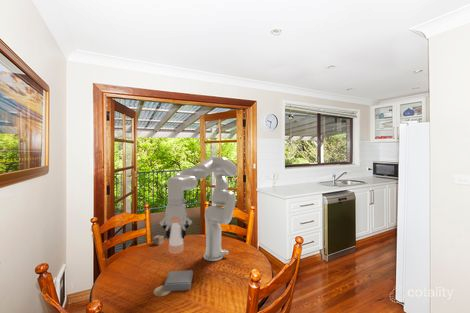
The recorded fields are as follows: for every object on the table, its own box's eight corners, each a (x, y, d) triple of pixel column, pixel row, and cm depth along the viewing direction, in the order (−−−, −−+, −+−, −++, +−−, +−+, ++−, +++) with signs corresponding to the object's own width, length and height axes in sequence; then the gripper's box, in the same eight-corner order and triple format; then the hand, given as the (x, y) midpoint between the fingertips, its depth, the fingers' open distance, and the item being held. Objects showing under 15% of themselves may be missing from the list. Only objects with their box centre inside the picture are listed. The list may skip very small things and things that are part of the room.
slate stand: (192, 275, 115) (192, 269, 115) (190, 289, 103) (190, 283, 103) (169, 276, 114) (169, 270, 114) (164, 291, 102) (164, 284, 102)
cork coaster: (173, 286, 106) (173, 285, 106) (169, 297, 98) (169, 295, 98) (156, 287, 106) (156, 285, 106) (151, 298, 98) (151, 296, 98)
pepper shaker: (177, 245, 114) (178, 209, 113) (186, 249, 110) (187, 212, 108) (165, 250, 108) (165, 212, 107) (174, 255, 104) (174, 216, 102)
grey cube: (153, 244, 155) (153, 237, 155) (158, 241, 159) (158, 235, 159) (159, 245, 153) (159, 238, 153) (163, 242, 158) (163, 235, 158)
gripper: (194, 199, 112) (194, 234, 112) (159, 200, 110) (160, 235, 111) (192, 203, 104) (192, 240, 105) (155, 204, 103) (156, 241, 103)
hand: (176, 237), depth 108 cm, fingers closed on pepper shaker, 6 cm apart
